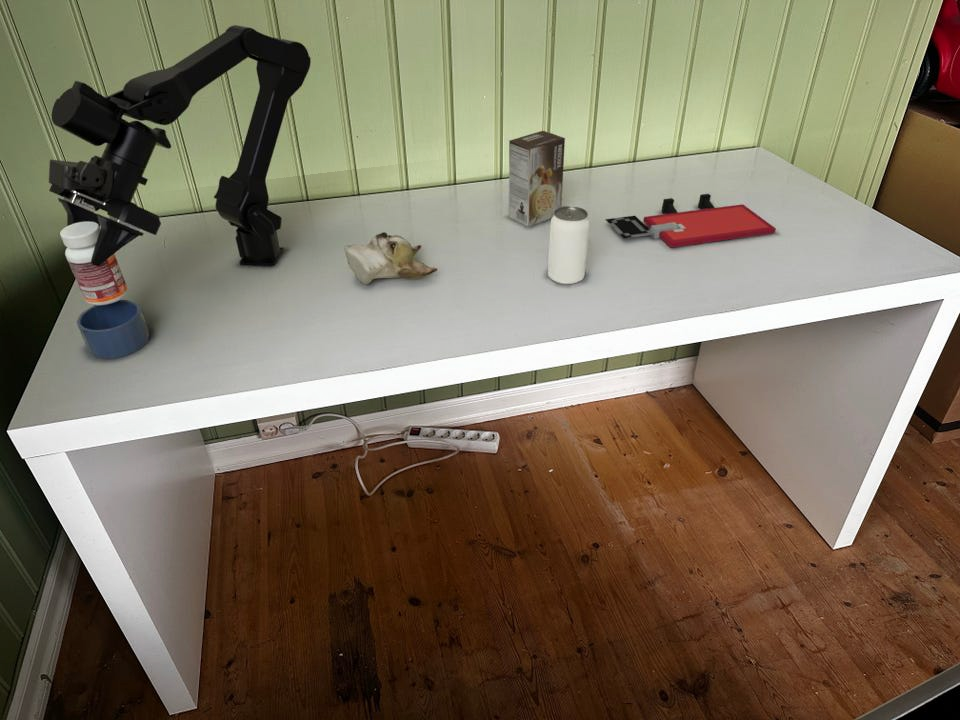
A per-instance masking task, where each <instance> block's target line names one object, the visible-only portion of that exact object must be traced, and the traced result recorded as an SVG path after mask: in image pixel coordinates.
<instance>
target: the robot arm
mask: <svg viewBox="0 0 960 720" xmlns="http://www.w3.org/2000/svg"><path fill="white" fill-rule="evenodd" d="M311 58H312V57H311V56H310V55H309V51H308V49H307V48H306V46H305V45H303V43H301V42H299V41H295V40H289V39H285V38H279V37H275V36H274V37H272V36H269V35H266V34H264V33H262V32H259V31H258V30H256V29H254V28H253V27H248V26H244V25H238V24H233V25H231V26H229V27H228V28H227V29H225V31H224V32H223V33H222V34H220V35H218V36H217V37H215V38H214V39H212V40H211V41H209V42H207V43H206V44H205V45H203V46H201V47H200V48H198V49H197V50H195V51H193V52H192V53H191V54H189V55H187V56H186V57H184V58H183V59H181V60H180V61H178V62H177V63H176V64H175V63H174V65H172V66H169V67H167V68H163V69H157V70H153V71H150V72H146V73H144V74H142V75H139V76H136V77H133V78H131V79H129V80H128V81H127V82H126V83H125V84H124V86H123V89H120V90H119V91H116V92H114V93H112V94H110V95H108V96H104V95H102V94H101V93H99V92H98V91H96V90H95V89H94V88H93V87H91V85H89V84H86V83H85V82H83V81H79V80H74V82H73V84H72V87H70V88H68V89H66V90H65V91H64V92H63V93H62V94H60V96H59V97H58V98H56V100H55V102H54V104H53V106H52V110H51V121H52V124H53V125H54V126H56V127H58V128H59V129H62V130H63V131H66V132H68V133H69V134H71V135H73V136H75V137H77V138H79V139H81V140H83V141H85V142H86V143H89V144H91V145H92V146H95V147H99V146H102V145H104V144H106V146H105V148H104V151H103V152H102V154H101V157H100V156H98V155H94V156H92V157H90V160H89V161H88V162H87V161H83V160H79V161H78V162H76V161H68V160H60V159H49V169H48V184H50V185H51V186H50V187H49V190H48V191H49V192H50V193H53V194H54V195H57V196H60V197H62V198H60V197H57V200H58V202H59V203H60V204H61V205H62V207H63V209H64V211H65V212H66V217H67V218H66V221H67V222H66V227H67V226H69V225H72V224H75V223H79V222H95V223H97V224H98V225H99V227H100V229H101V230H100V233H99V236H98V239H97V242H96V245H95V248H94V251H93V255H92V259H91V264H93V265H95V266H99V265H101V264H102V263H103V262H104V261H106V260H107V259H108V258H109V257H111V256H112V255H113V254H116V253H117V252H118V251H119V250H121V249H122V248H123V247H125V246H127V245H128V244H129V243H130V242H132V241H134V240H135V239H136V238H138V237H139V236H140V237H143V236H144V234H145V233H144V232H147V233H149V234H151V235H154V236H157V234H158V232H159V230H160V227H161V225H162V222H161V220H160V216H159V215H157V214H156V213H154V212H151V211H149V210H147V209H145V208H143V207H141V206H139V205H138V204H137V203H135V202H133V198H134V197H135V194H136V193H137V189H138V187H139V185H141V186H142V185H143V186H146V185H147V183H148V180H149V179H148V178H146V177H144V176H143V175H144V173H145V172H146V171H145V170H146V169H147V167H148V164H149V162H150V160H151V157H152V155H153V152H154V150H155V148H156V146H158V147H161V148H165V149H168V150H170V149H172V144H171V142H170V140H169V138H168V136H167V132H166V130H165V129H164V128H160V127H154V128H152V127H150V126H148V125H146V123H143V122H141V121H146V122H147V121H148V122H150V123H153V124H155V125H156V124H157V125H161V126H168V125H170V124H173V123H174V122H176V120H178V119H179V117H180V116H182V114H183V113H184V112H185V111H186V110H187V109H188V108H189V107H190V104H191V102H192V100H193V98H194V97H195V95H196V94H197V93H198V92H200V91H201V90H202V89H204V88H205V87H207V86H209V85H210V84H212V83H213V82H214V81H216V80H217V79H218V78H220V77H222V76H223V75H224V74H226V73H228V72H229V71H230V70H232V69H233V68H235V67H236V66H237V65H239V64H241V63H242V62H243V61H245V60H246V59H251V60H252V61H256V67H255V69H256V74H257V80H258V85H259V90H258V93H257V97H256V100H255V102H254V103H255V104H254V107H253V110H252V115H251V118H250V121H249V125H248V128H247V132H246V135H245V138H244V143H243V145H242V149H241V152H240V156H239V160H238V163H237V167H236V169H235V171H234V172H233V173H232V174H231V175H230V176H229V177H227V176H225V175H221V176H220V178H219V181H218V188H217V191H216V192H215V194H214V196H213V198H214V199H215V210H216V211H217V214H218V215H219V216H220V218H222V219H224V220H225V221H227V222H228V224H229V225H230V226H231V227H235V228H236V229H235V232H236V236H235V243H236V247H237V250H238V254H239V255H238V256H239V257H240V260H239V261H238V262H239V265H240V266H259V267H260V266H262V267H273V266H275V265H276V264H277V262H278V261H279V259H280V257H281V256H282V255H283V253H284V251H285V247H283V246H280V240H279V237H278V230H281V229H282V220H283V219H282V217H281V216H280V215H278V214H276V213H275V212H273V211H271V210H270V209H268V207H269V201H270V200H269V199H270V197H269V191H268V187H267V180H266V179H267V177H268V176H267V175H268V172H269V170H270V169H269V168H270V165H271V162H272V158H273V154H274V151H275V148H276V145H277V141H278V137H279V134H280V132H281V128H282V124H283V120H284V116H285V114H286V110H287V107H288V105H289V104H288V103H289V100H290V99H291V97H292V96H293V95H295V93H297V92H298V91H299V89H300V88H301V87H302V86H303V84H304V82H305V80H306V78H307V75H308V73H309V71H310V68H311V64H312V61H311ZM123 116H124V117H127V118H131V119H134V120H132V121H130V122H129V121H127V120H126V119H123ZM99 210H101V211H104V212H106V213H107V216H108V217H106V216H104V215H101V214H99V213H96V212H98V211H99ZM141 230H142V231H144V232H142V231H141ZM66 249H67V247H66V246H65V250H66Z"/></svg>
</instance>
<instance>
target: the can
mask: <svg viewBox="0 0 960 720" xmlns="http://www.w3.org/2000/svg"><path fill="white" fill-rule="evenodd" d="M588 215H589V214H588V211H587V210H586V209H584V208H583V207H579V206H575V205H564V206H561V207H560V208H557V209H556V210H555V211H554V216H553V217H552V218H551V219H550V228H549V241H548V243H549V244H548V261H547V264H548V265H547V276H548V278H549V279H550V280H551V281H553V282H554V283H556V284H559V285H567V286H569V285H570V286H571V285H575V284H578V283H579V282H581V281H582V280H583V279H584V278H585V274H586V264H587V255H588V244H589V234H590V220H589V217H588Z"/></svg>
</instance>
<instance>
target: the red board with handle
mask: <svg viewBox="0 0 960 720" xmlns="http://www.w3.org/2000/svg"><path fill="white" fill-rule="evenodd" d="M711 197H712V195H711V194H710V193H703V194H700V195H699V200H698V205H697V208H698V209H695V210H687V211H679V212H678V211H677V209H676V207H675V206H674V203H675V199H674V198H673V197H670V198H663V201H662V206H661V211H660V212H661V214H656V215H646V216H643V220H642V221H641V220H640V219H639V217H637V216H636V215H627V216H621V217H619V216H618V217H613V218H605V219H604V220H605V221H606V222H607V223H608V224H609V226H611V227H612V228H613V229H614V231H616V232H617V234H619V236H621V238H622V239H625V240H626V239H631V238H639V237H646V236H650V237H651V238H652V239H654V240H656V239H661V240H662V241H663V242H664V243H666V244H667V246H669V248H677V247H683V246H691V245H698V244H705V243H713V242H720V241H726V240H734V239H741V238H749V237H755V236H762V235H770V234H775V233H776V230H777V228H776V227H775V226H773V225H772V224H770V223H769V222H768V221H766V220H765V219H764V218H762V217H761V216H760V215H758V214H757V213H756V212H754V211H753V210H752V209H750V208H749V207H748V206H746V205H744V204H733V205H726V206H718V207H715V206H714V204H713V203H712V201H711Z"/></svg>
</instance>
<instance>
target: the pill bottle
mask: <svg viewBox="0 0 960 720" xmlns="http://www.w3.org/2000/svg"><path fill="white" fill-rule="evenodd" d="M100 230H101V226H100V224H99V225H98V224H97V223H95V222H79V223H75V224H72V225H69V226H67V225H66V226H65V227H64V228H62V229H61V230H60V233H59V234H60V238H61V240H62V242H63V245H64V246H65V251H64V255H65V258H66V260H67V262H68V265H69V267H70V269H71V272H72V275H74V278H75V280H76V283H77V286H78V287H79V289H80V292H81V295H82V296H83V299H84V300H85V302H86V303H87V304H88V305H91V306H95V305H107V304H111V303H114V302H117V301H119V300H123V299H124V298H125V296H126V295H127V294H128V293H129V292H128V291H129V288H128V285H127V282H126V280H125V277H124V274H123V272H122V269H121V266H120V264H119V262H118V260H117V257H116V255H115V254H116V253H114V254H113V255H112V256H111V257H109V258H108V259H107V260H106V261H104V262H103V263H102V264H101V265H99V266H95V265H93V264H91V259H92V255H93V251H94V248H95V245H96V242H97V239H98V236H99V233H100ZM66 247H67V249H66Z"/></svg>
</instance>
